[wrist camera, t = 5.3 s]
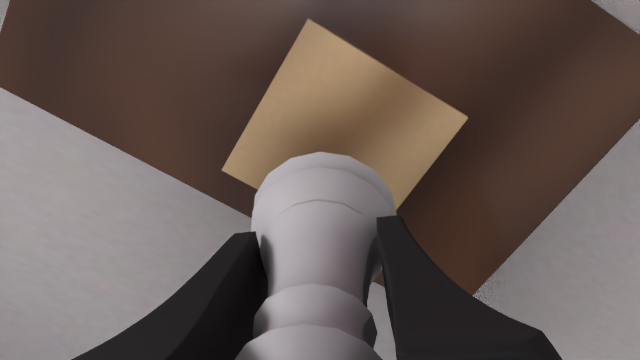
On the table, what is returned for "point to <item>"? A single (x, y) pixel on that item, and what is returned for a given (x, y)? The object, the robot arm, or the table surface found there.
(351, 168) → the rook chess piece
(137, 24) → the cutting board
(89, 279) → the table surface
